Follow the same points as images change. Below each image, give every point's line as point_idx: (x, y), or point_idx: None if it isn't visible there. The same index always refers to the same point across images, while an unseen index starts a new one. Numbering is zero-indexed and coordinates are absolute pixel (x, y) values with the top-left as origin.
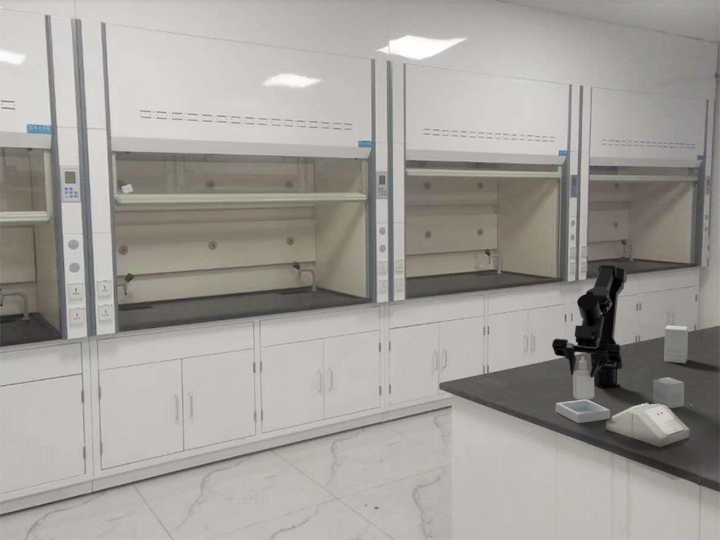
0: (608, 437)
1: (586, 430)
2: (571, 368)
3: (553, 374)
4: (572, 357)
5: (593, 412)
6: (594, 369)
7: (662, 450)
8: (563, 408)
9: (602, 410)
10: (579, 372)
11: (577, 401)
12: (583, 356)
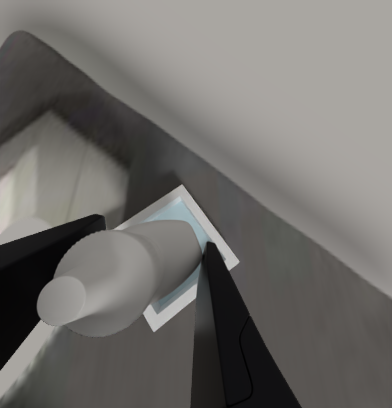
0: (130, 132)
1: (167, 156)
2: (216, 262)
3: None
4: (232, 379)
5: (144, 209)
6: (49, 229)
7: (50, 97)
8: (216, 231)
9: (119, 229)
10: (164, 221)
11: (181, 295)
12: (50, 303)
